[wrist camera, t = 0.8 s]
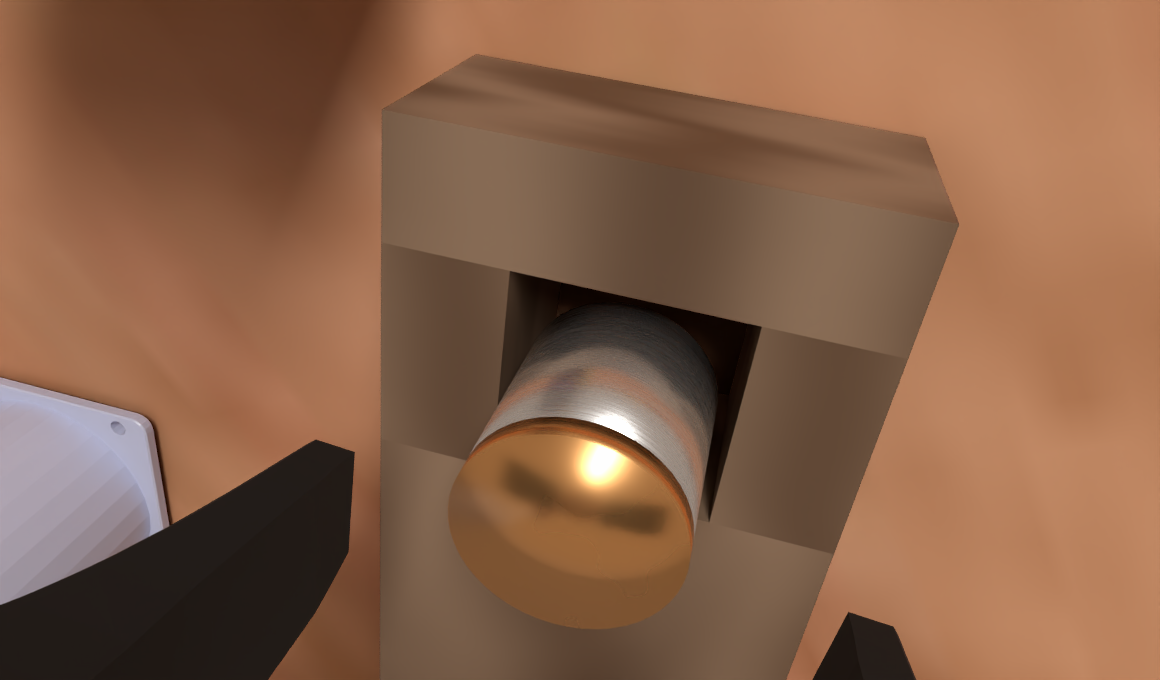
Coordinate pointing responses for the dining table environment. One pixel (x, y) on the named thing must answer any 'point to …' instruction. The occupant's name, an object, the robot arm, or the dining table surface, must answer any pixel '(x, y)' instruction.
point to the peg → (591, 470)
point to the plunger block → (655, 274)
